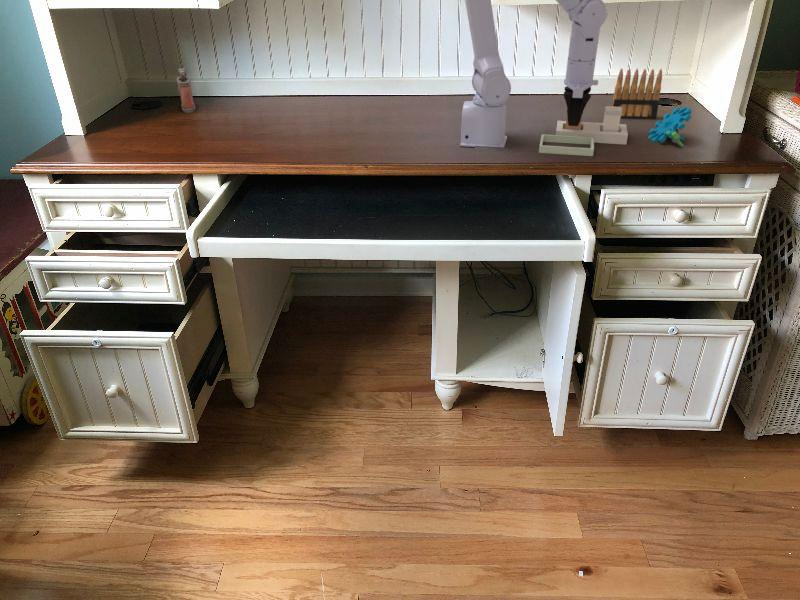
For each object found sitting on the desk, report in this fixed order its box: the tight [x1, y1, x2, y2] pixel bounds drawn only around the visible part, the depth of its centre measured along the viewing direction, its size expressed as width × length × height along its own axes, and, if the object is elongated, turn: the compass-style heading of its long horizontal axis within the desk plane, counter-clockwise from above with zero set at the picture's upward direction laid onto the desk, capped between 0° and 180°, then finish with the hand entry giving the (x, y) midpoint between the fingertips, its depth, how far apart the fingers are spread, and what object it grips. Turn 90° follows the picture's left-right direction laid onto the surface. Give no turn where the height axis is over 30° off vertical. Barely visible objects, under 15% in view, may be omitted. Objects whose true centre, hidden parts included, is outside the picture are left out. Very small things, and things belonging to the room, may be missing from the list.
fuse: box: [602, 105, 622, 132], centre depth 140 cm, size 3×3×6 cm
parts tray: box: [538, 133, 595, 157], centre depth 136 cm, size 11×8×2 cm
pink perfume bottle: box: [176, 68, 196, 113], centre depth 167 cm, size 8×3×10 cm, turn 17°
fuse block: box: [555, 120, 629, 146], centre depth 142 cm, size 15×8×3 cm, turn 76°
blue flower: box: [648, 105, 692, 147], centre depth 139 cm, size 11×6×10 cm
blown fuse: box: [565, 111, 584, 130], centre depth 142 cm, size 3×3×6 cm
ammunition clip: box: [611, 68, 663, 120], centre depth 152 cm, size 11×2×12 cm, turn 82°
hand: (573, 123), depth 142 cm, fingers closed on blown fuse, 3 cm apart
